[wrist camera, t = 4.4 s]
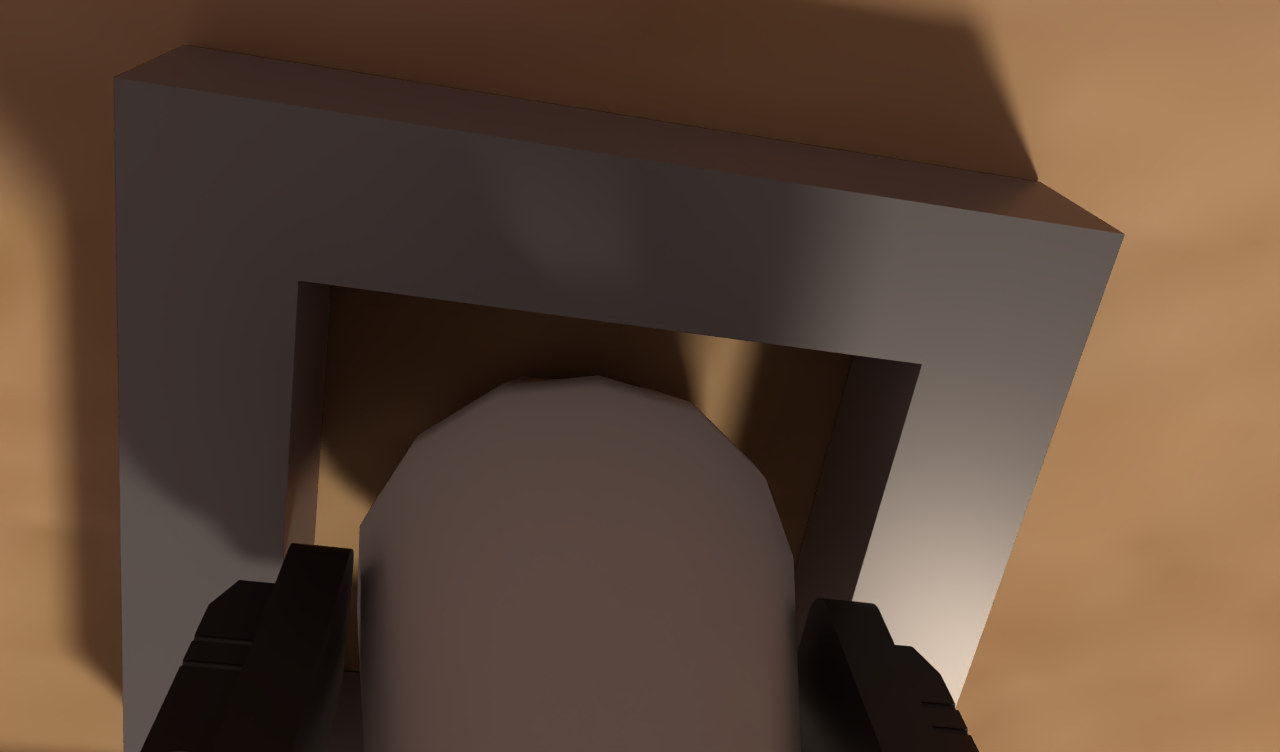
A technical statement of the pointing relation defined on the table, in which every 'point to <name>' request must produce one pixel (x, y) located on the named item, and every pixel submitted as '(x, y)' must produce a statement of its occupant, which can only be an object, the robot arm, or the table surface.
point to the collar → (573, 287)
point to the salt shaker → (576, 583)
